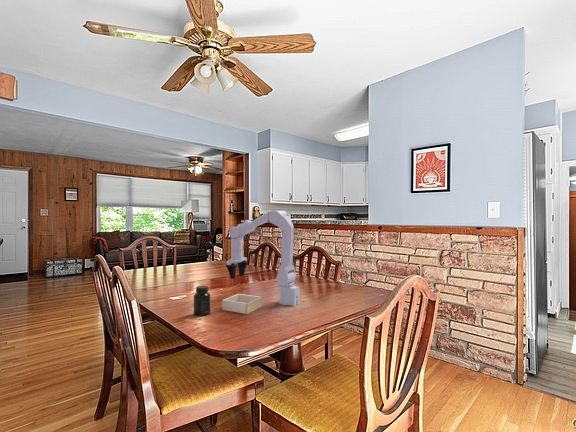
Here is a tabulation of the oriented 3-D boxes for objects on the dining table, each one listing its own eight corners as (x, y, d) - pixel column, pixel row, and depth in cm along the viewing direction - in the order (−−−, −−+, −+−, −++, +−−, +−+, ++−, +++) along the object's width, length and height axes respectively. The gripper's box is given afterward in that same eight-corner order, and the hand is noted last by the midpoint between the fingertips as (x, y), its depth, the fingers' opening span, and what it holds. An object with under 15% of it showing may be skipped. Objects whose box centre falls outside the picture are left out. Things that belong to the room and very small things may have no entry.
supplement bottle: (190, 315, 129) (190, 286, 129) (205, 312, 134) (205, 284, 134) (198, 319, 124) (198, 289, 124) (213, 315, 129) (213, 286, 129)
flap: (262, 306, 139) (262, 297, 139) (247, 313, 129) (247, 303, 129) (261, 306, 140) (261, 296, 140) (246, 313, 129) (246, 303, 129)
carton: (260, 307, 140) (260, 296, 140) (245, 315, 129) (245, 303, 129) (238, 304, 145) (238, 293, 145) (222, 311, 135) (222, 299, 135)
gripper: (239, 248, 166) (239, 274, 166) (221, 251, 153) (221, 279, 153) (250, 249, 163) (250, 275, 163) (233, 252, 150) (233, 280, 150)
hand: (237, 277), depth 158 cm, fingers open, 7 cm apart
